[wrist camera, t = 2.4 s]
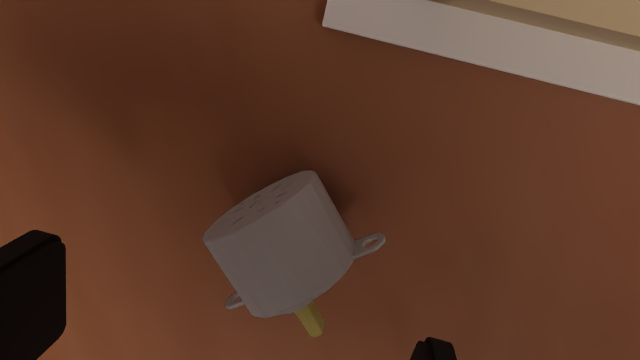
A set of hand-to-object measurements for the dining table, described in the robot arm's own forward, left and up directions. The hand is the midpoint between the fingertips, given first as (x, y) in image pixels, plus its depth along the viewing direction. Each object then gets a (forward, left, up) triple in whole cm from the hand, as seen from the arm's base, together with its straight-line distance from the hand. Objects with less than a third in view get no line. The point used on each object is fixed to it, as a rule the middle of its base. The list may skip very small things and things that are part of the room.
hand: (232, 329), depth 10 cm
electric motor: (-1, 0, -7) cm, 7 cm away
